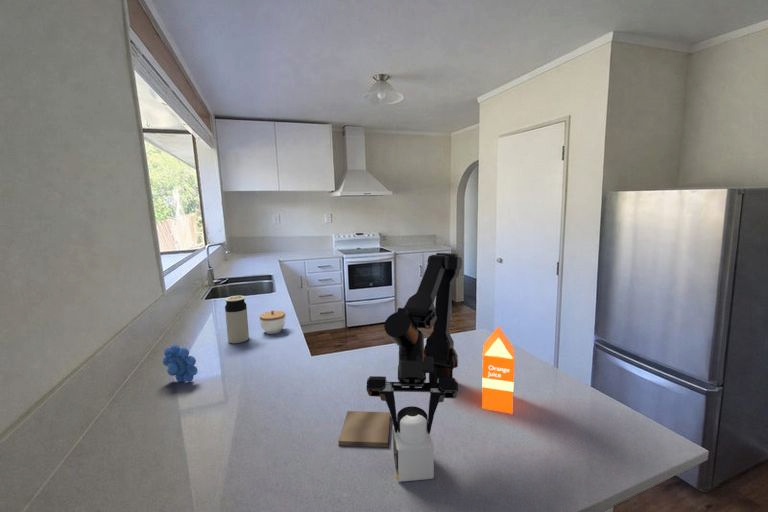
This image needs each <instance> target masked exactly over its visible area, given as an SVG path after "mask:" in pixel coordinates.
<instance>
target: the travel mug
mask: <svg viewBox="0 0 768 512" xmlns="http://www.w3.org/2000/svg"><path fill="white" fill-rule="evenodd" d="M245 299H246V297H245V296H244V295H232V296H228V297H225V298H224V301H225V302H226V304H225V306H224V311H225V313H224V314H225V323H226V333H227V342H228V343H230V344H241V343H244V342H246V341H248V340H249V338H250V334H249V322H248V320H249V319H248V310H247V309H248V308H247V307H248V306H247V303H246V302H245Z"/></svg>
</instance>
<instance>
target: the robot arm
mask: <svg viewBox="0 0 768 512" xmlns="http://www.w3.org/2000/svg"><path fill="white" fill-rule="evenodd" d="M462 267H463V260H462V257H459V254H458V253H450V252H449V253H447V252H437V253H435V254H431V255H429V256H428V258H427V265H426V269H425V270H424V272H423V273H424V274H423V275H422V279H421V281H420V283H419V286H418V288H417V290H416V293H415V294H413V295H411V296H410V297H409V298H408V300H407V301H406V303H405V305H404V307H398V308H397V311H396V312H394V313H392V314H390V315H388V316H387V319H385V321H384V331H385V333H386V334H387V335H388V336H389V337H390V339H391V340H392V341H393V342H394V344H395V345H396V346H398V366H397V380H398V381H387V376H379V375H378V376H376V375H375V376H373V375H370V376H369V377H368V378H367V379H366V389H365V390H366V392H367V395H368V396H369V397H374V398H375V397H377V398H380V400H381V402H384V401H385V403H386V405H387V408H388V412H390V418H391V420H392V425H393V426H394V430H395V433H397V409H396V400H395V394H394V393H395V392H397V393H398V392H403V393H405V392H406V393H407V392H408V393H429V394H430V395H429V403H428V413H427V416H428V434H430V435H431V430H432V425H433V421H434V418H435V417H434V416H435V413H436V412H437V411H436V410H437V408H438V405H439V403H443V402H445V399H456V398H457V396H458V394H459V384H458V380H457V379H456V378H455V377H453V375H454V374H453V370H454V369H455V368H456V369H457V368H458V367H459V359H458V357H459V356H458V354H457V350H456V349H455V348H454V347H455V346H454V345H455V344H454V343H455V342H454V340H453V337H452V336H451V334H450V325H451V324H450V323H451V314H452V313H451V312H452V311H451V309H452V299H453V298H452V297H453V286H454V282H455V281H456V280H457V278H458V277H459V276H460V270H461V269H462ZM434 303H435V304H434ZM432 327H433V330H432V332H431V333H430V335H429V336H428V337H427V338H426V341H424V340H425V339H424V336H425V335H424V334H423V332H422V331H421V330H419V329H423V330H429V329H431V328H432ZM427 374H428V382H426V381H427Z"/></svg>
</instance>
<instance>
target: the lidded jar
mask: <svg viewBox="0 0 768 512" xmlns="http://www.w3.org/2000/svg"><path fill="white" fill-rule="evenodd" d="M259 320H260V327H261V329H262V330H263V331H264V332H266V333H267V334H271V335H272V334H273V335H275V334H278V333H280V332H282V330H283V329H284V327H285V324H286V312H285V311H283V310H269V311H266V312H263V313H261V314H260V315H259Z"/></svg>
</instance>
